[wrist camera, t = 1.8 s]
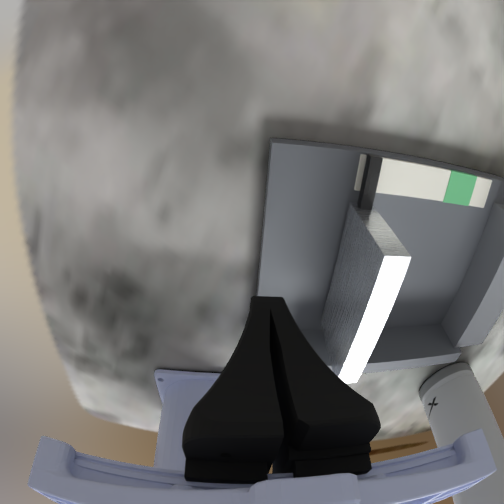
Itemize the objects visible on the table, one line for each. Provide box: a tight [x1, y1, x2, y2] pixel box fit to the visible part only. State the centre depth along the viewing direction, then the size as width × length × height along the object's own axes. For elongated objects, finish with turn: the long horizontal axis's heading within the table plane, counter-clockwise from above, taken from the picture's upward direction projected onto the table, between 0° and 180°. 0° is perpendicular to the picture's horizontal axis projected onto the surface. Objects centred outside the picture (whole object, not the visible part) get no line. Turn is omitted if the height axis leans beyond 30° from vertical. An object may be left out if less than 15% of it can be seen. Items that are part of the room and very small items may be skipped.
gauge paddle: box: [321, 154, 411, 383], centre depth 15 cm, size 11×1×5 cm, turn 176°
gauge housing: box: [256, 138, 504, 373], centre depth 17 cm, size 13×17×4 cm
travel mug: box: [419, 363, 504, 504], centre depth 19 cm, size 6×7×20 cm
